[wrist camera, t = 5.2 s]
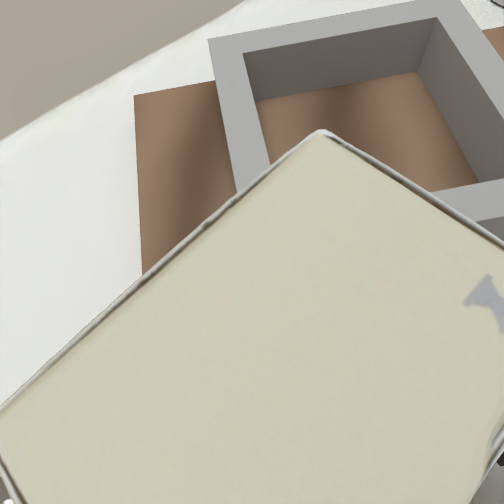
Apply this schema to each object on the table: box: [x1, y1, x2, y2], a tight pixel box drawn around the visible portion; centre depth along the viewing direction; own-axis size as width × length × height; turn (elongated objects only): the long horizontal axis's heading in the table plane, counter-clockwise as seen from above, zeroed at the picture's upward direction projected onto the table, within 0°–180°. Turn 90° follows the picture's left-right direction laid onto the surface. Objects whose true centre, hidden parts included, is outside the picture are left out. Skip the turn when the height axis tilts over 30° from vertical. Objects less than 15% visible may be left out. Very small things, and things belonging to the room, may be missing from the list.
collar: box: [208, 0, 504, 241], centre depth 17 cm, size 12×12×3 cm
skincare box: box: [0, 129, 504, 504], centre depth 10 cm, size 6×4×12 cm
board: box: [134, 26, 504, 275], centre depth 19 cm, size 22×14×2 cm, turn 100°
